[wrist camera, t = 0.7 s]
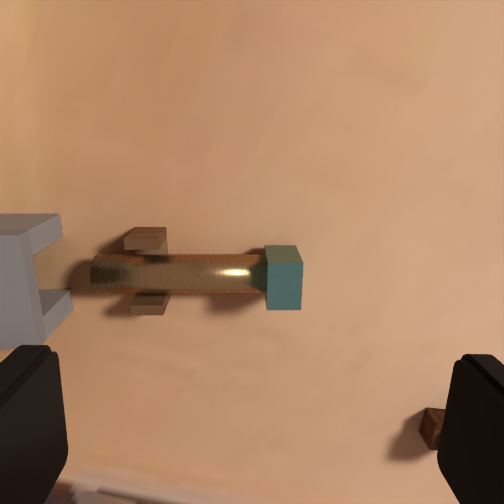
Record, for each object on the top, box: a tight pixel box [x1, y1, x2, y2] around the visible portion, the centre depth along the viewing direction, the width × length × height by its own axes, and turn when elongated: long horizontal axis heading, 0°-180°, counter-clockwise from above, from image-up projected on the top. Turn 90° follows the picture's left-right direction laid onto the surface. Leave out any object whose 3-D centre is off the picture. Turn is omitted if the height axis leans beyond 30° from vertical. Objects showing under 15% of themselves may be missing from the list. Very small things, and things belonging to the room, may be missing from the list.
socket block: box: [0, 214, 73, 349], centre depth 37 cm, size 10×8×8 cm
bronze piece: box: [91, 245, 303, 310], centre depth 37 cm, size 4×18×5 cm, turn 90°
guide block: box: [124, 227, 170, 315], centre depth 39 cm, size 7×3×4 cm, turn 0°
